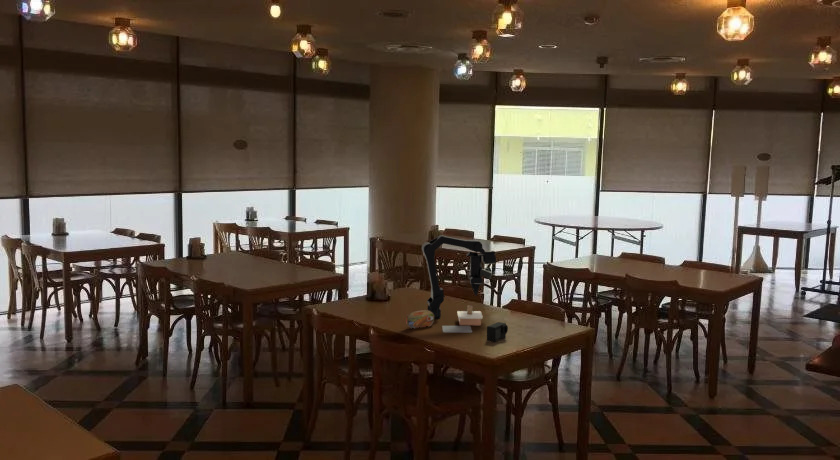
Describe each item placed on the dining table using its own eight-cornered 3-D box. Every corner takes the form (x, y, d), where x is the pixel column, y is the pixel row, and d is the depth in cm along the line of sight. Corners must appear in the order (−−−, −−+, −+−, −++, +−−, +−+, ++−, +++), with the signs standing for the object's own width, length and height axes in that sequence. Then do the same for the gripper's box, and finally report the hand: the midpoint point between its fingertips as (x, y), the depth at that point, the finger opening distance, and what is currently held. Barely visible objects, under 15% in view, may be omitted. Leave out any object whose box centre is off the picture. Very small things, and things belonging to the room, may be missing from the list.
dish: (459, 326, 355) (459, 318, 355) (458, 321, 366) (458, 313, 365) (480, 326, 355) (480, 318, 355) (479, 321, 366) (479, 313, 365)
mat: (442, 333, 342) (442, 332, 342) (442, 326, 355) (442, 325, 355) (472, 333, 342) (472, 332, 342) (470, 326, 355) (470, 325, 355)
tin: (407, 330, 348) (407, 313, 347) (404, 328, 351) (404, 311, 350) (434, 326, 355) (434, 309, 354) (431, 325, 357) (431, 308, 357)
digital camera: (497, 342, 325) (497, 327, 324) (486, 341, 328) (486, 326, 327) (508, 338, 334) (508, 323, 333) (497, 336, 337) (498, 321, 336)
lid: (458, 318, 354) (458, 308, 354) (457, 313, 366) (457, 303, 366) (482, 318, 354) (482, 308, 354) (480, 313, 366) (480, 303, 366)
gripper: (492, 267, 364) (492, 297, 365) (489, 261, 382) (489, 290, 384) (470, 267, 364) (470, 297, 365) (468, 261, 382) (468, 290, 384)
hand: (475, 293), depth 375 cm, fingers open, 9 cm apart
